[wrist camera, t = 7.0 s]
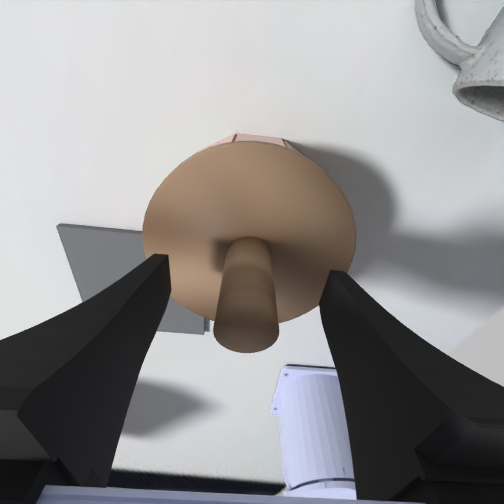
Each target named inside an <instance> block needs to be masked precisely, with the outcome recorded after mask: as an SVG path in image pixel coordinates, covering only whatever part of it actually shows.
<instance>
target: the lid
mask: <svg viewBox="0 0 504 504" xmlns="http://www.w3.org/2000/svg"><path fill="white" fill-rule="evenodd" d="M142 239H143V246H144V252H145V256H146V259H147V258H149V257H150V256H151V255H153V254H154V253H156V254H167V255H169V265H170V277H171V289H172V291H171V294H170V296H171V297H172V298H173V299H174V300H176V301H177V302H178V303H179V304H181V305H182V306H183V307H185V308H187V309H188V310H190V311H191V312H194V313H196V314H198V315H200V316H202V317H204V318H207V319H210V320H212V321H215V322H214V328H213V333H214V336H215V338H216V340H217V341H218V342H219V343H220V344H221V345H222V346H223V347H225V348H227V349H229V350H232V351H235V352H240V353H254V352H259V351H262V350H265V349H267V348H269V347H270V346H272V345H273V344H274V343H275V342H276V340H277V338H278V336H279V324H278V323H281V322H285V321H289V320H291V319H294V318H296V317H299V316H301V315H303V314H305V313H307V312H309V311H311V310H312V309H314V308H315V307H317V306H318V305H319V301H320V298H321V295H322V292H323V289H324V286H325V284H326V281H327V278H328V275H329V272H330V270H339V271H344V272H345V273H347V272H348V270H349V267H350V265H351V262H352V259H353V255H354V251H355V242H356V232H355V223H354V219H353V214H352V211H351V209H350V206H349V204H348V202H347V200H346V198H345V196H344V195H343V193H342V191H341V190H340V188H339V187H338V186H337V185H336V183H335V182H334V181H333V180H332V179H331V178H330V176H329V175H328V174H327V173H326V172H325V171H324V170H323V169H322V168H321V167H320V166H319V165H317V164H316V163H315V162H314V161H312V160H311V159H309V158H308V157H306V156H304V155H303V154H301V153H299V152H297V151H294V150H292V149H290V148H288V147H285V146H281V145H277V144H274V143H269V142H261V141H235V142H228V143H223V144H219V145H216V146H213V147H209V148H207V149H205V150H203V151H200V152H198V153H196V154H194V155H193V156H191V157H190V158H188V159H187V160H185V161H184V162H182V163H181V164H180V165H179V166H178V167H177V168H175V169H174V170H173V171H172V172H171V173H170V174H169V175H168V176H167V177H166V178H165V180H164V181H163V182H162V183H161V185H160V186H159V187H158V188H157V190H156V191H155V193H154V195H153V197H152V198H151V200H150V202H149V205H148V208H147V210H146V213H145V218H144V223H143V238H142Z"/></svg>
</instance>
